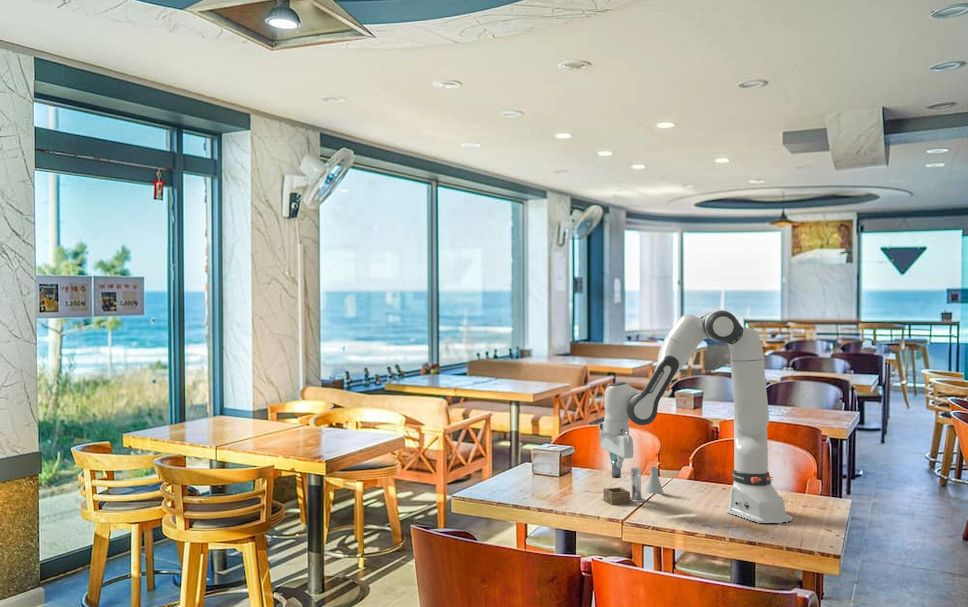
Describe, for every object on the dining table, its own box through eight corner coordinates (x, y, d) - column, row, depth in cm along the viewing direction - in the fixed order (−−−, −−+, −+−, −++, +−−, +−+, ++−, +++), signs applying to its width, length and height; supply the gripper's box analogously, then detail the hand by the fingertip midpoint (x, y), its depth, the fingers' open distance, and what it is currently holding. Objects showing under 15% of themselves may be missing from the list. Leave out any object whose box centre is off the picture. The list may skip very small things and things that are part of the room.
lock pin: (643, 499, 273) (642, 469, 273) (634, 500, 272) (633, 469, 272) (639, 497, 276) (638, 467, 276) (630, 498, 276) (629, 467, 276)
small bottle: (614, 478, 270) (614, 450, 270) (610, 476, 273) (610, 448, 273) (622, 477, 271) (622, 450, 271) (618, 475, 274) (618, 448, 274)
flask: (662, 491, 290) (662, 465, 289) (665, 496, 282) (665, 470, 282) (643, 491, 290) (643, 465, 290) (645, 496, 283) (645, 469, 283)
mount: (649, 504, 271) (649, 490, 271) (611, 508, 267) (611, 494, 267) (638, 499, 279) (638, 485, 279) (601, 502, 275) (601, 488, 275)
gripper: (638, 432, 263) (637, 471, 263) (612, 422, 282) (612, 459, 282) (621, 433, 261) (621, 473, 261) (596, 423, 281) (596, 460, 281)
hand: (616, 465), depth 272 cm, fingers closed on small bottle, 3 cm apart
